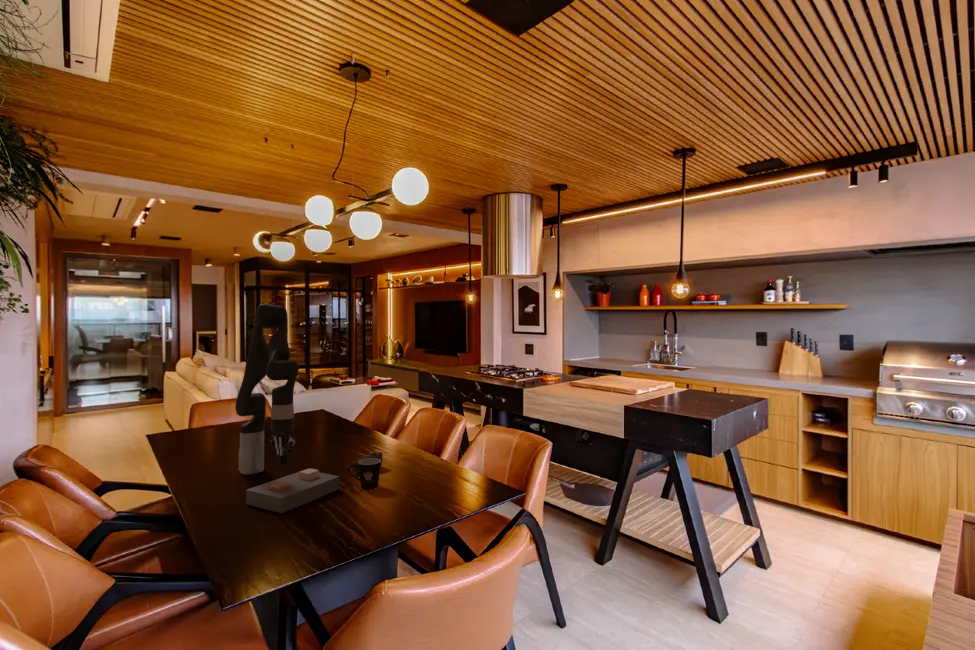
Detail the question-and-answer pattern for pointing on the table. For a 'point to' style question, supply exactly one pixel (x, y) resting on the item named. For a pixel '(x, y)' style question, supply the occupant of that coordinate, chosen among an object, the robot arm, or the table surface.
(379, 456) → the perforated stone tool
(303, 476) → the offwhite key
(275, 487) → the terracotta key
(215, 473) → the table surface
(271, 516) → the table surface
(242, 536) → the table surface
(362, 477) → the coffee mug
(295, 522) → the table surface
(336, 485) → the key panel
